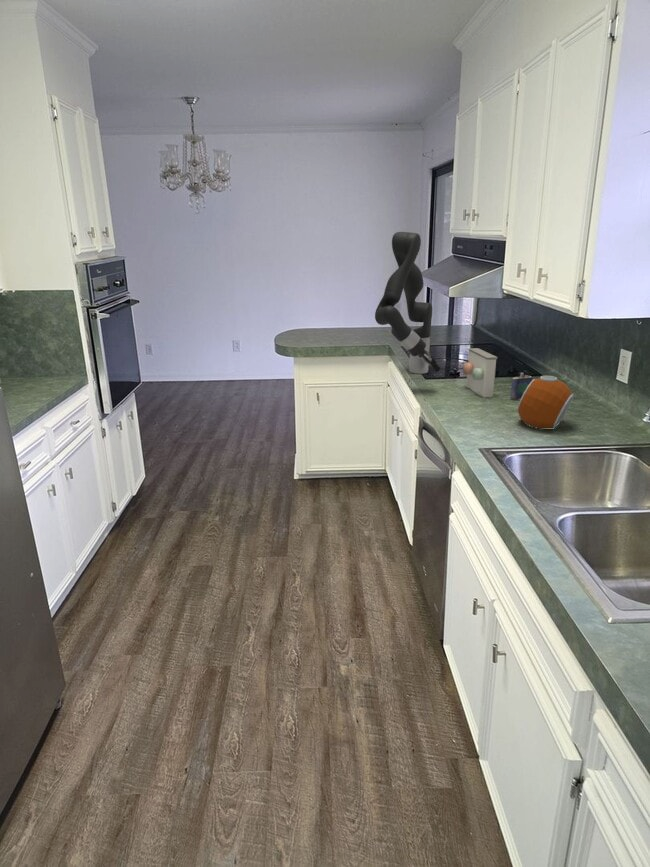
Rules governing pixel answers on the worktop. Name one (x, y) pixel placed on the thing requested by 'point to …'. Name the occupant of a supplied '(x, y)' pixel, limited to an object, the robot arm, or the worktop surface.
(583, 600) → the worktop surface
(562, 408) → the alarm clock
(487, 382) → the panel
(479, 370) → the sage button
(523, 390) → the flask
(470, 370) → the terracotta button
